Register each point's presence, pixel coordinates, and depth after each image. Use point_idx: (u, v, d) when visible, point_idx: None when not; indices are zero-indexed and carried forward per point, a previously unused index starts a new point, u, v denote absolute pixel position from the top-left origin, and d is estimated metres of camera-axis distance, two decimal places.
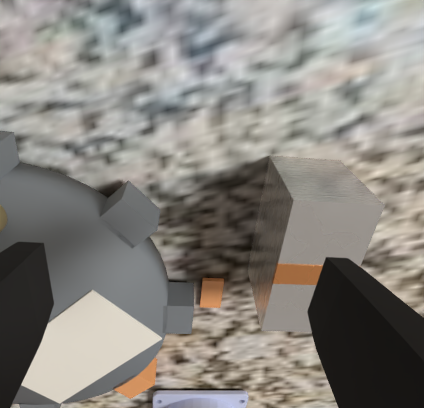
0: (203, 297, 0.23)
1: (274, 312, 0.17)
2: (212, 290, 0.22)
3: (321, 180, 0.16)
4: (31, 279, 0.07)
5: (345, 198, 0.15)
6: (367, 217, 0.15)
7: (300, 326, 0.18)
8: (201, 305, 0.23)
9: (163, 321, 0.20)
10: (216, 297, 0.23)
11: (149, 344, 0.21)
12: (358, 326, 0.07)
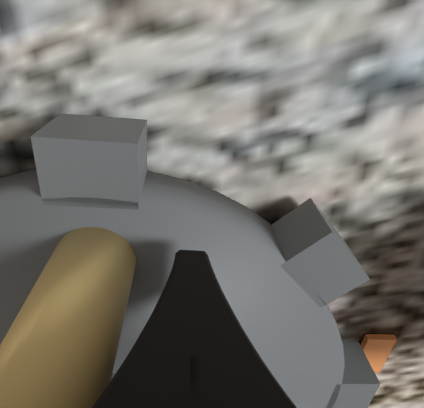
0: None
1: None
2: (376, 351, 0.16)
3: None
4: None
5: None
6: None
7: None
8: None
9: (328, 403, 0.14)
10: (378, 360, 0.16)
11: None
12: None
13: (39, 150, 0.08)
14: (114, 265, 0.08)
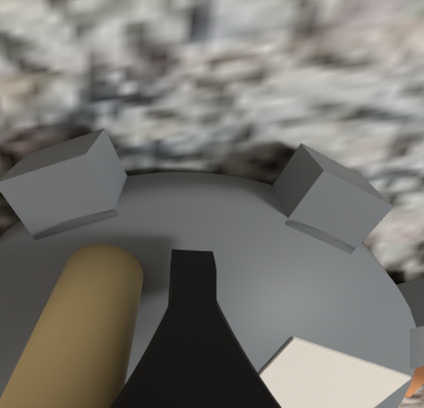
0: None
1: None
2: (415, 377, 0.17)
3: None
4: None
5: None
6: None
7: None
8: None
9: (411, 352, 0.12)
10: (413, 385, 0.17)
11: (392, 389, 0.13)
12: None
13: (7, 192, 0.08)
14: (109, 275, 0.08)
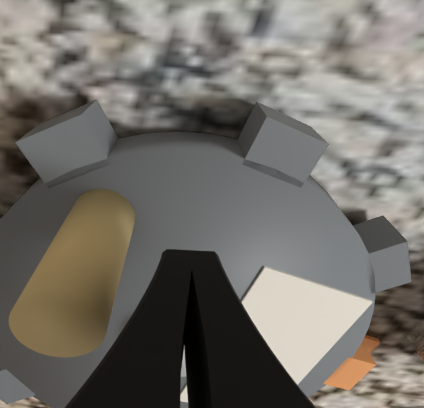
0: None
1: None
2: None
3: None
4: None
5: None
6: None
7: None
8: None
9: (368, 277, 0.15)
10: None
11: (358, 314, 0.16)
12: (194, 321, 0.07)
13: (25, 149, 0.11)
14: (105, 207, 0.11)
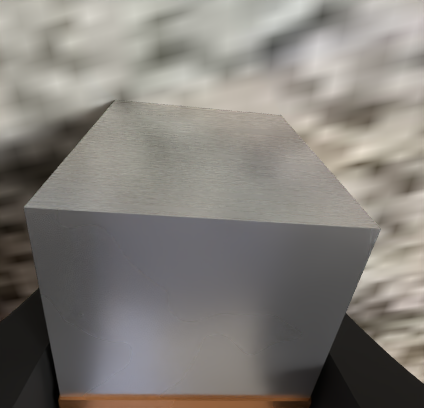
0: None
1: None
2: None
3: (197, 152, 0.06)
4: None
5: (245, 201, 0.04)
6: (320, 268, 0.04)
7: None
8: None
9: None
10: None
11: None
12: None
13: None
14: None
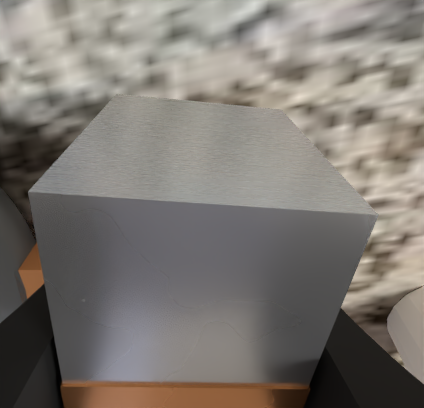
0: None
1: None
2: None
3: (199, 143, 0.06)
4: None
5: (244, 189, 0.04)
6: (318, 255, 0.04)
7: None
8: None
9: None
10: None
11: None
12: None
13: None
14: None
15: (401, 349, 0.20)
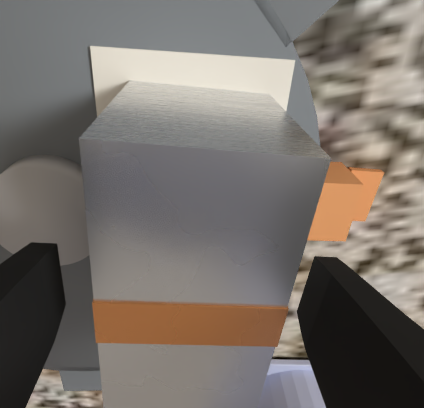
0: None
1: (120, 395, 0.08)
2: None
3: (199, 113, 0.07)
4: (45, 280, 0.07)
5: (234, 141, 0.06)
6: (289, 191, 0.06)
7: None
8: None
9: (264, 12, 0.09)
10: (363, 203, 0.15)
11: (284, 92, 0.10)
12: (344, 326, 0.07)
13: None
14: None
15: None
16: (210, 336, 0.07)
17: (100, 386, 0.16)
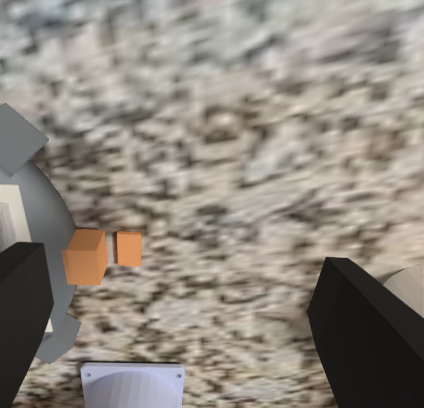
0: (120, 253, 0.21)
1: None
2: (128, 245, 0.21)
3: None
4: (31, 279, 0.07)
5: None
6: None
7: None
8: (119, 263, 0.21)
9: None
10: (134, 254, 0.21)
11: (17, 202, 0.16)
12: (358, 326, 0.07)
13: None
14: None
15: None
16: None
17: None
